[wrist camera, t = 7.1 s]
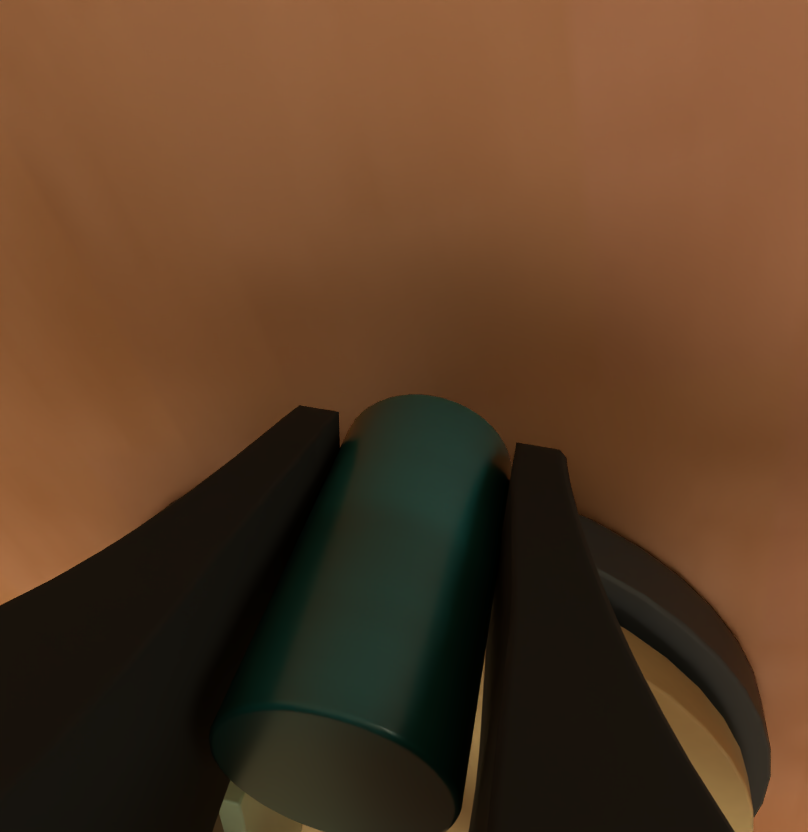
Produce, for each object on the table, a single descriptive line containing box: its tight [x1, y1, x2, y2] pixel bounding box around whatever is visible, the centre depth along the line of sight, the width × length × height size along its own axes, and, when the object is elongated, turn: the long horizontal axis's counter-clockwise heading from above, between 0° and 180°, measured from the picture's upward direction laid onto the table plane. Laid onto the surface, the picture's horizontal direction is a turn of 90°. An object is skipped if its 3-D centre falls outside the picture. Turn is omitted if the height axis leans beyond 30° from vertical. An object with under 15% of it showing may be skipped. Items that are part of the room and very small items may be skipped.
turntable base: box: [166, 500, 771, 818], centre depth 17 cm, size 16×16×1 cm
